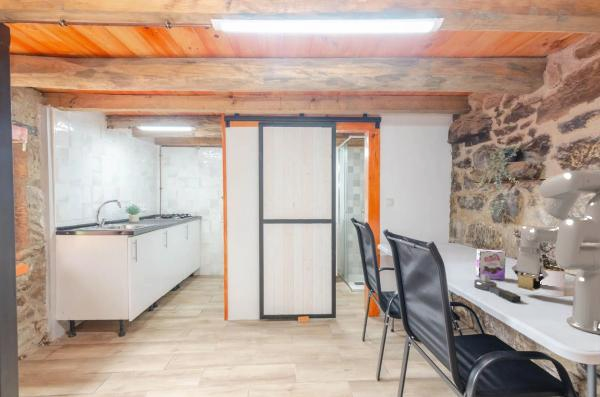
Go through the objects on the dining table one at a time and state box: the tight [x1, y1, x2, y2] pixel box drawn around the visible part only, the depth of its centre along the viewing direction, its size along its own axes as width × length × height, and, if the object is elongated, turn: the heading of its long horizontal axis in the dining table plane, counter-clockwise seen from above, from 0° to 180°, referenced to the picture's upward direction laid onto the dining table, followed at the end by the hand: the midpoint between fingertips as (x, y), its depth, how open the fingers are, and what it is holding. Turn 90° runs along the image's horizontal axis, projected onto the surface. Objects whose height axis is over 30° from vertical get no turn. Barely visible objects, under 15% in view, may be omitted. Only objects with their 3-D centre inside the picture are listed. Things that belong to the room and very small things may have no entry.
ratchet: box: [474, 274, 522, 303], centre depth 151 cm, size 25×10×7 cm, turn 6°
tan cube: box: [517, 273, 541, 292], centre depth 148 cm, size 6×6×6 cm
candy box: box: [474, 248, 507, 281], centre depth 177 cm, size 14×6×16 cm, turn 76°
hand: (528, 286), depth 148 cm, fingers closed on tan cube, 6 cm apart
